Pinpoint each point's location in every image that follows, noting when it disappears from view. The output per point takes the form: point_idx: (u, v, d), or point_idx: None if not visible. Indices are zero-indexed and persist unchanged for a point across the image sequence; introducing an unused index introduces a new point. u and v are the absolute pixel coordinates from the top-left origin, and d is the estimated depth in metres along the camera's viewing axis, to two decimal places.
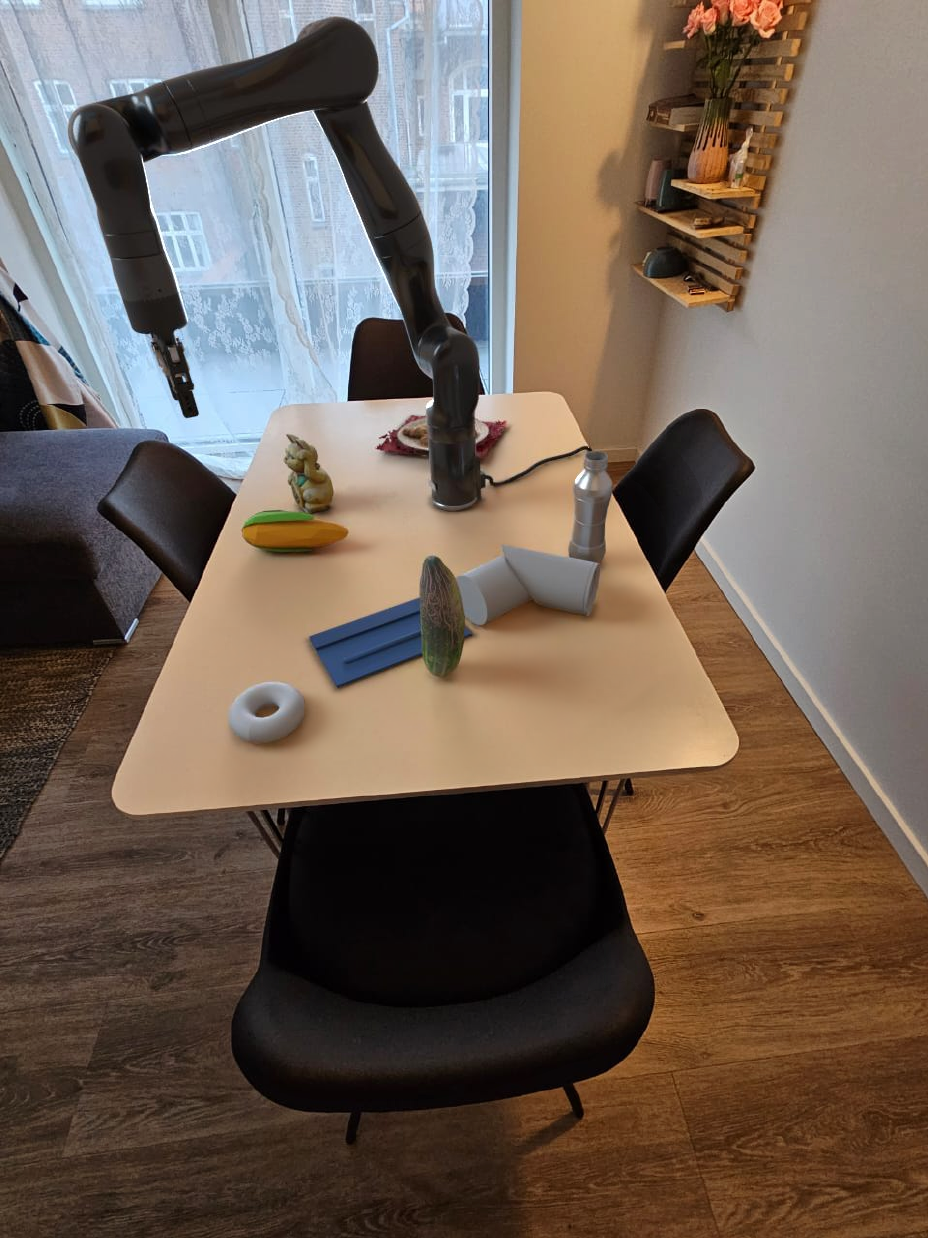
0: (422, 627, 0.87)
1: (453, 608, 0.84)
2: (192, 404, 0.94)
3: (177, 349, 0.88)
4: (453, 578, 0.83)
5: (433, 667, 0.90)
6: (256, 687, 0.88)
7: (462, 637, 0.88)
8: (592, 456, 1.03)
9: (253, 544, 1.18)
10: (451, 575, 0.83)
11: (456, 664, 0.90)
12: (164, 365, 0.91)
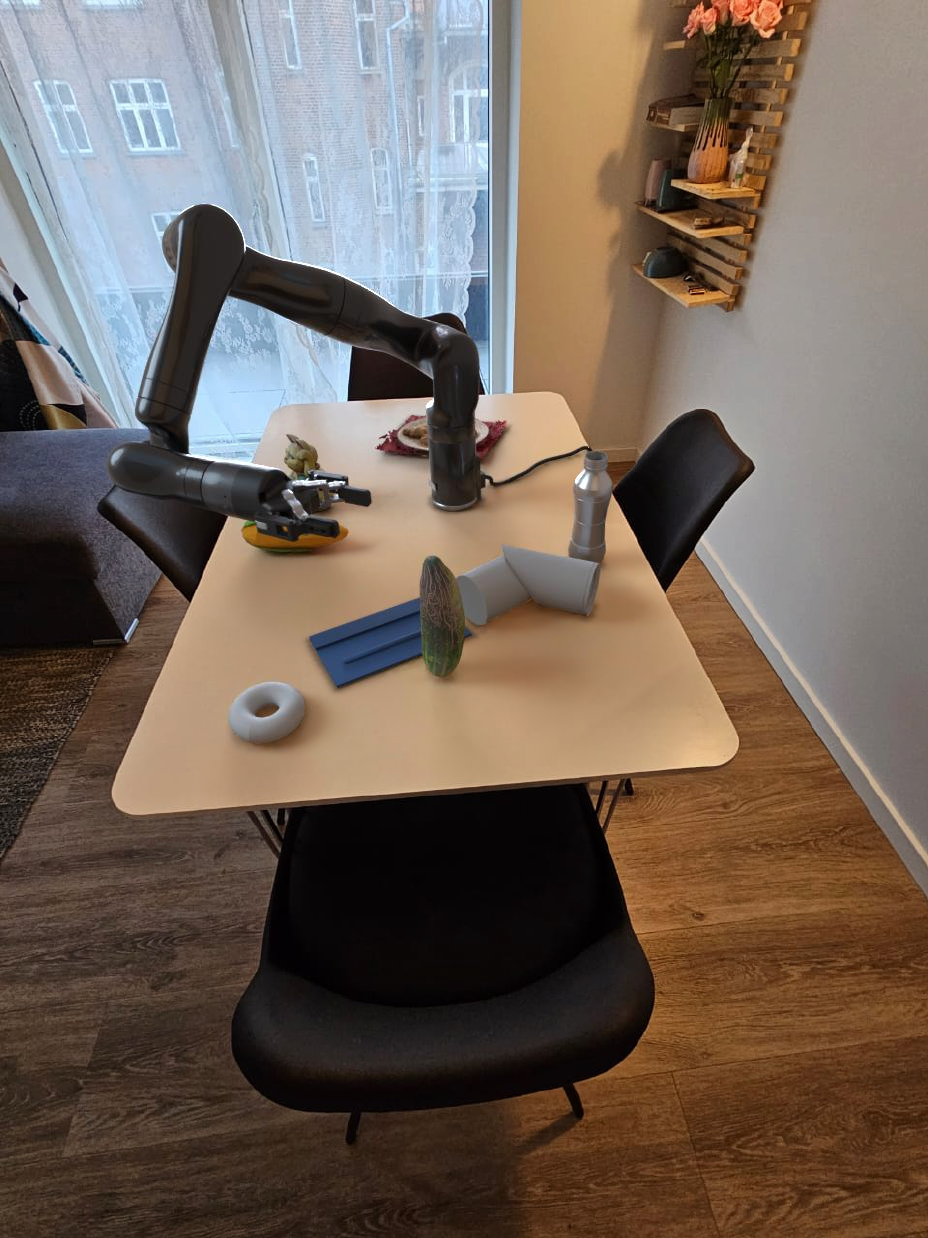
0: (422, 627, 0.87)
1: (453, 608, 0.84)
2: (318, 527, 0.79)
3: (255, 519, 0.80)
4: (453, 578, 0.83)
5: (433, 667, 0.90)
6: (256, 687, 0.88)
7: (462, 637, 0.88)
8: (592, 456, 1.03)
9: (253, 544, 1.18)
10: (451, 575, 0.83)
11: (456, 664, 0.90)
12: None
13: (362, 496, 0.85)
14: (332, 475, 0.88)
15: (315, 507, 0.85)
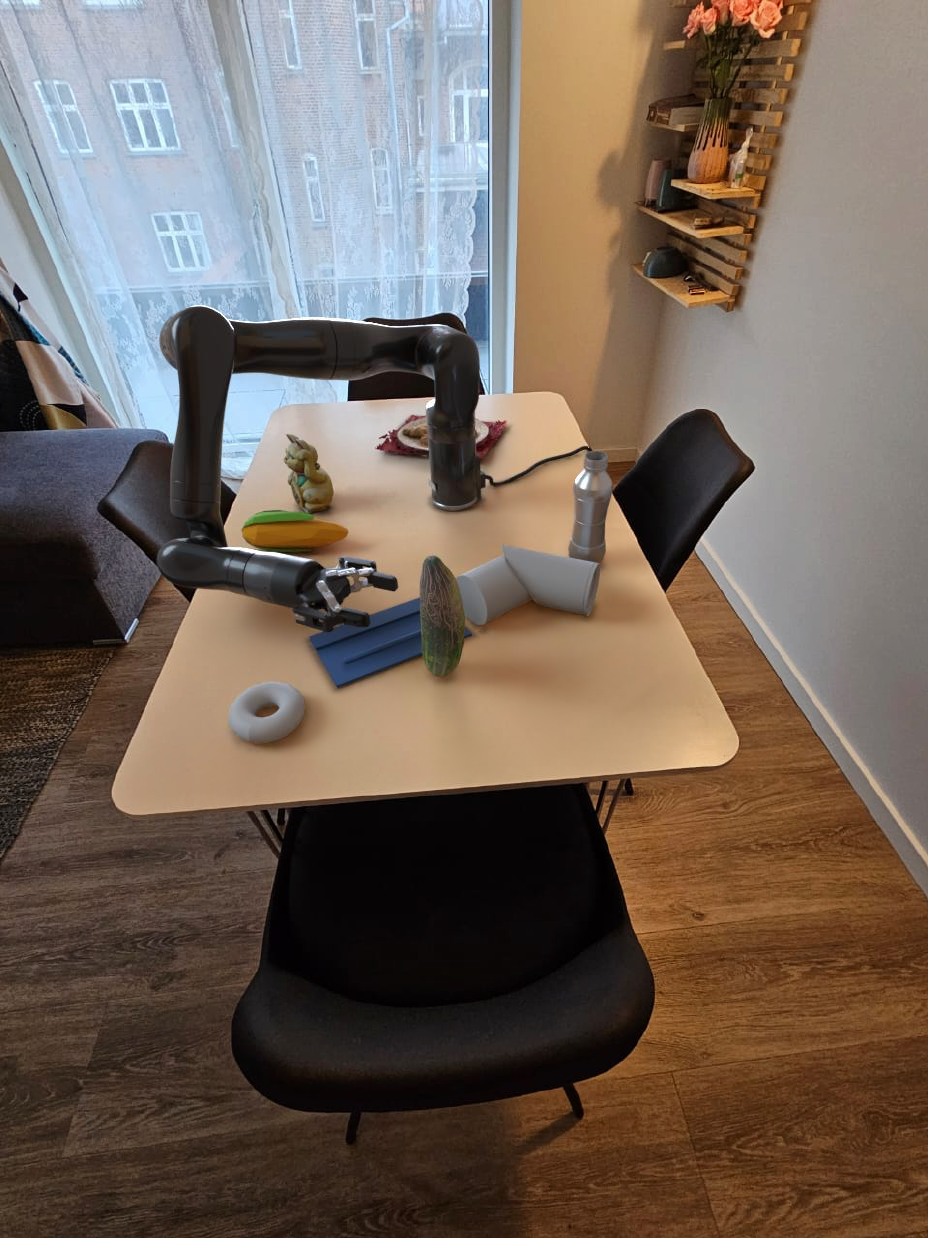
0: (422, 627, 0.87)
1: (452, 608, 0.84)
2: (351, 619, 0.86)
3: (294, 612, 0.88)
4: (453, 578, 0.83)
5: (433, 667, 0.90)
6: (256, 687, 0.88)
7: (462, 637, 0.88)
8: (592, 456, 1.03)
9: (253, 544, 1.18)
10: (451, 575, 0.83)
11: (456, 664, 0.90)
12: (326, 612, 0.91)
13: (390, 582, 0.93)
14: (361, 561, 0.96)
15: (347, 594, 0.93)
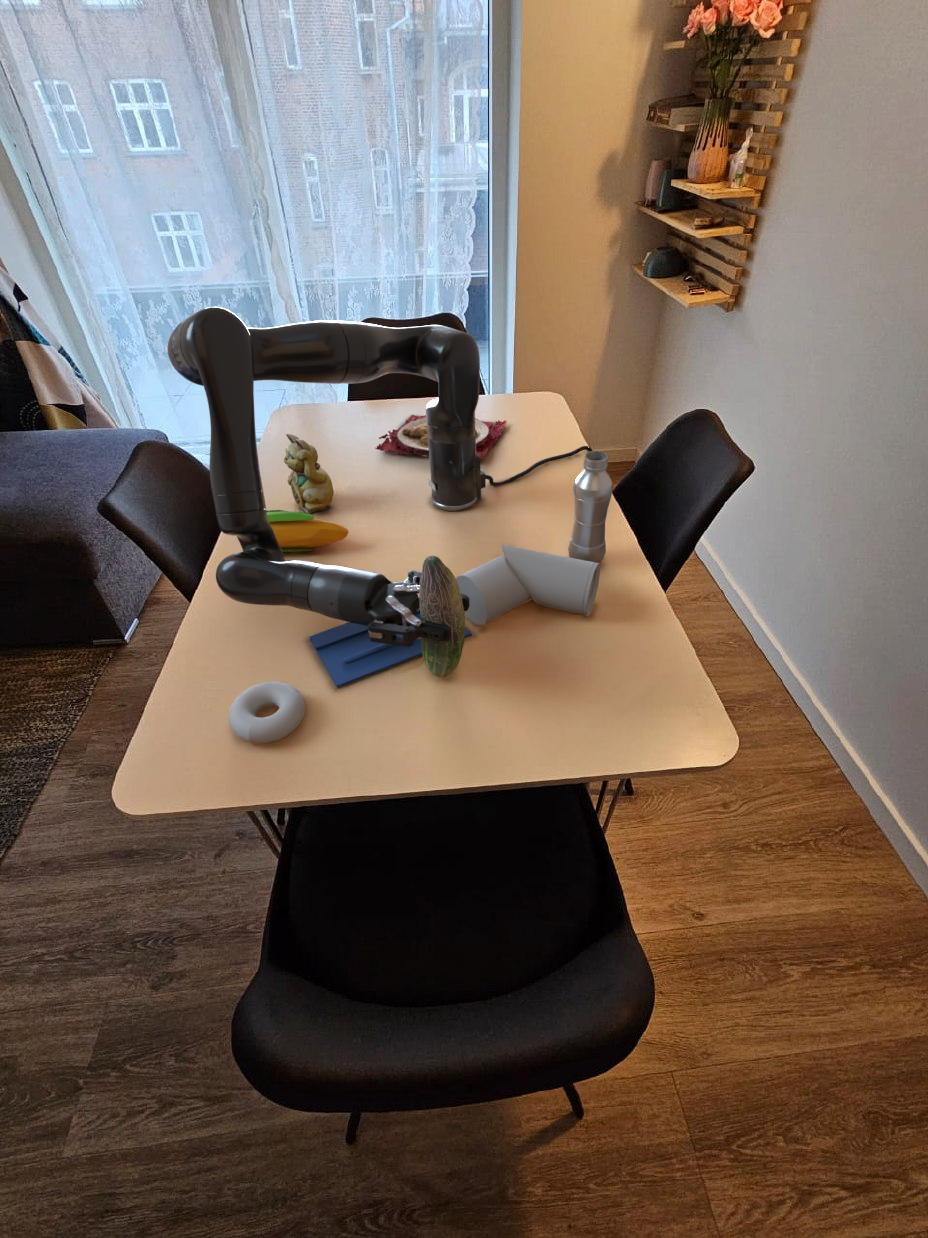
0: None
1: (453, 608, 0.83)
2: (432, 632, 0.84)
3: (369, 631, 0.84)
4: (453, 578, 0.83)
5: (433, 667, 0.90)
6: (256, 687, 0.88)
7: (462, 637, 0.88)
8: (592, 456, 1.03)
9: None
10: (451, 576, 0.83)
11: (456, 664, 0.90)
12: None
13: None
14: None
15: (416, 609, 0.89)
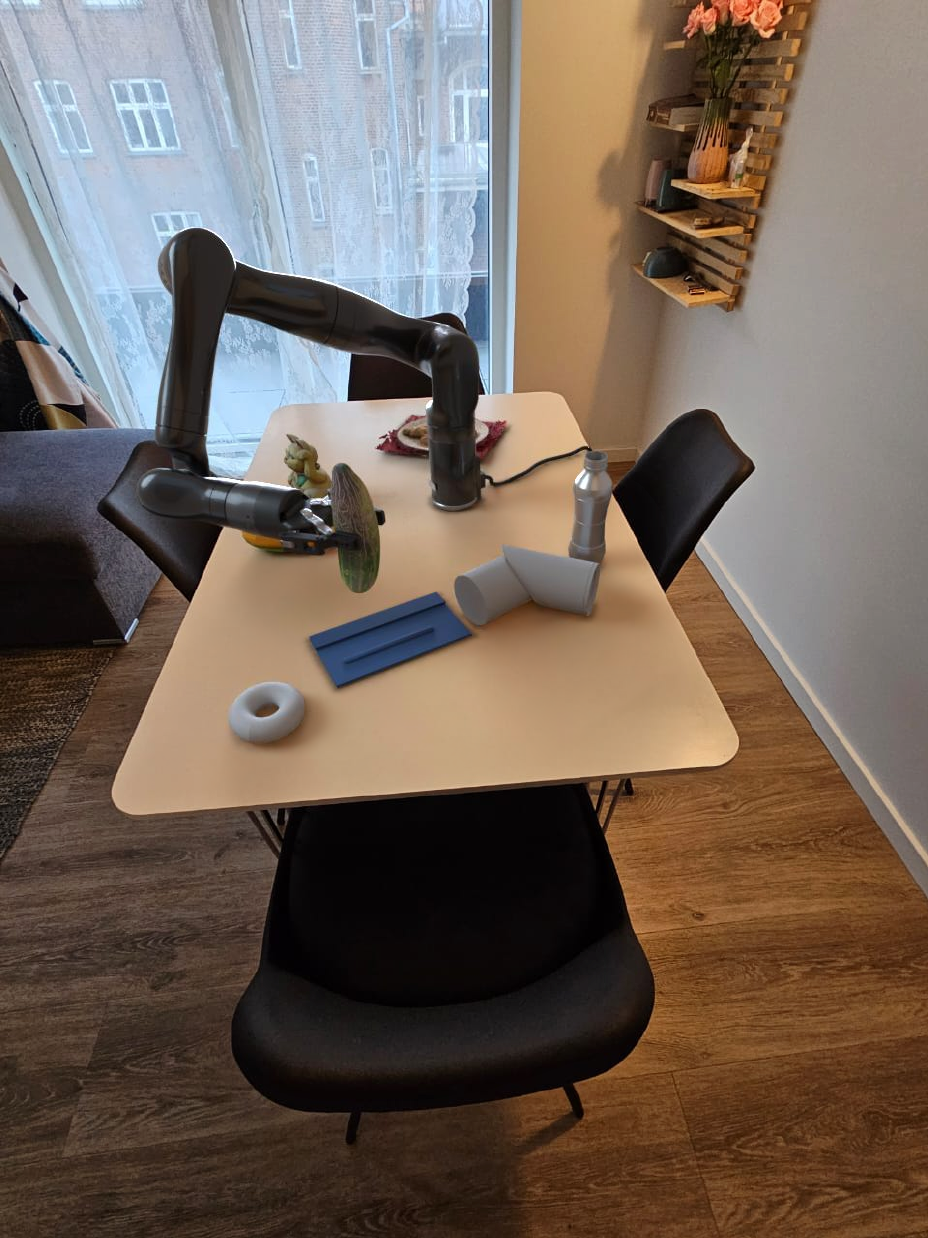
0: None
1: (363, 517, 0.84)
2: (343, 541, 0.85)
3: (281, 539, 0.85)
4: (363, 486, 0.84)
5: (349, 581, 0.91)
6: (256, 687, 0.88)
7: (376, 550, 0.88)
8: (592, 456, 1.03)
9: (253, 544, 1.18)
10: (361, 483, 0.83)
11: (373, 579, 0.91)
12: None
13: (377, 516, 0.90)
14: None
15: (332, 524, 0.90)
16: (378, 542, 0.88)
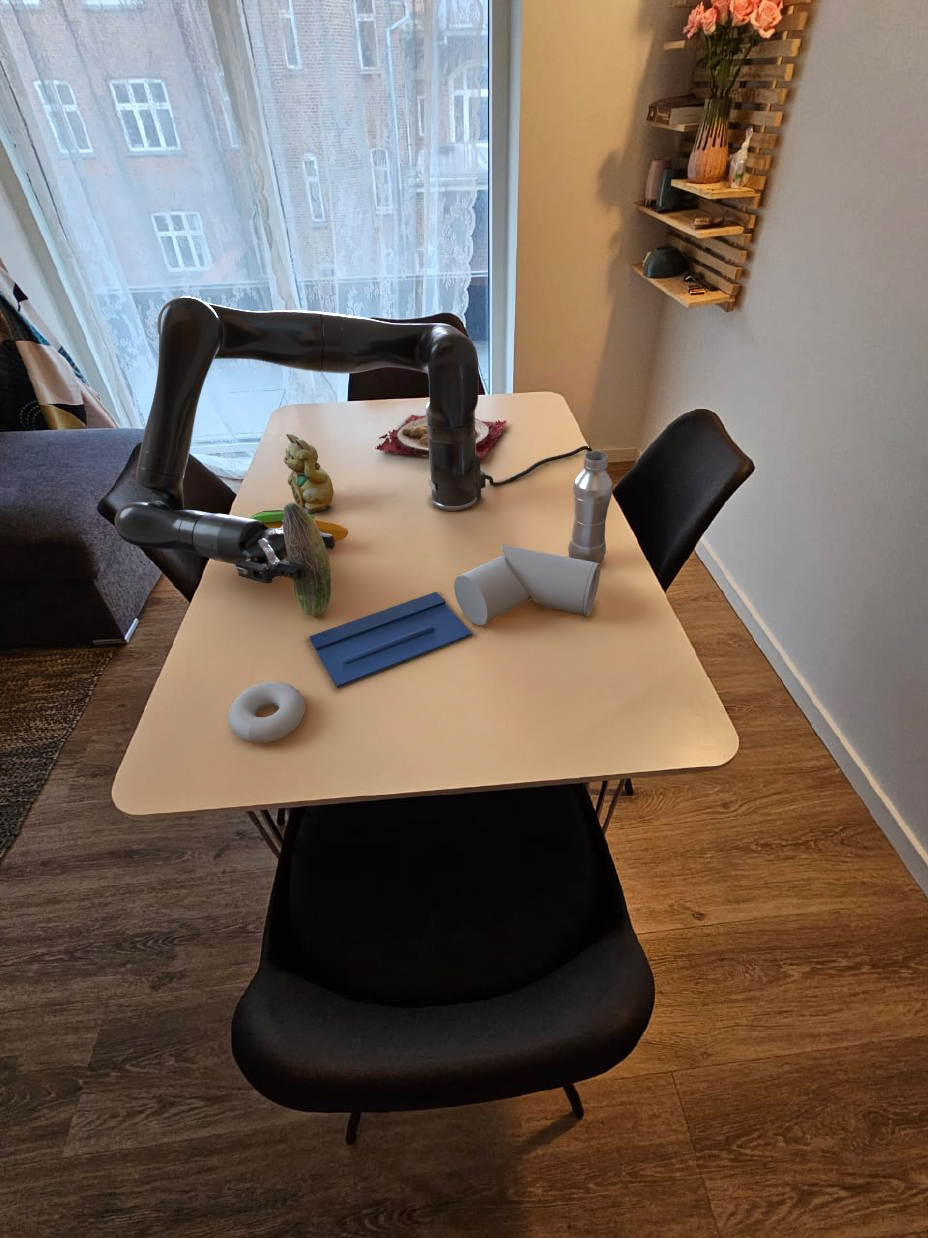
0: None
1: (312, 550, 0.95)
2: (288, 571, 0.95)
3: (236, 566, 0.96)
4: (311, 523, 0.95)
5: (303, 605, 1.02)
6: (256, 687, 0.88)
7: (326, 577, 1.00)
8: (592, 456, 1.03)
9: None
10: (310, 520, 0.95)
11: (324, 603, 1.02)
12: None
13: (327, 541, 1.01)
14: None
15: None
16: (328, 571, 0.99)
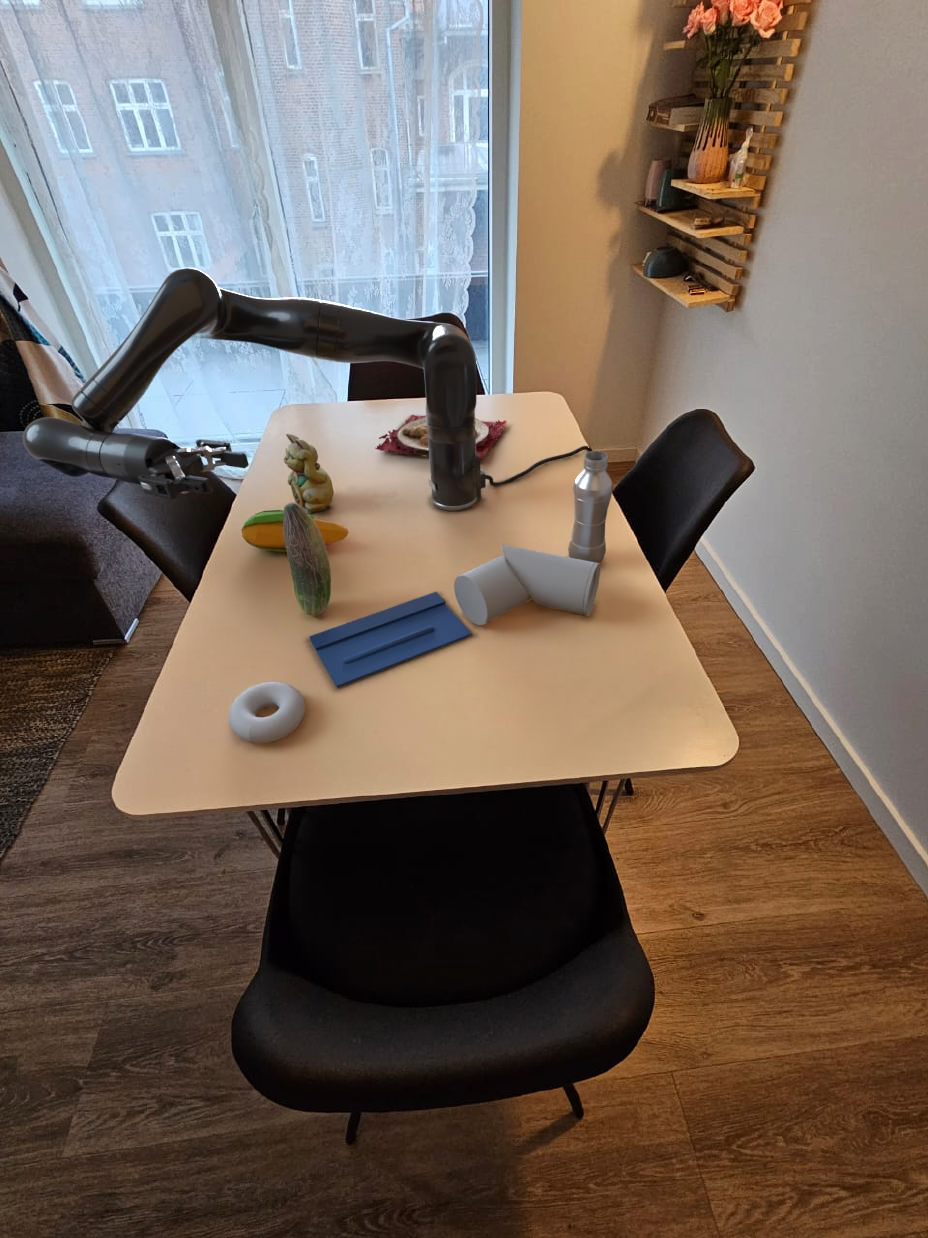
0: (290, 568, 0.99)
1: (312, 550, 0.95)
2: (192, 485, 0.91)
3: (140, 481, 0.92)
4: (311, 523, 0.95)
5: (303, 605, 1.02)
6: (256, 687, 0.88)
7: (326, 577, 1.00)
8: (592, 456, 1.03)
9: (253, 544, 1.18)
10: (310, 520, 0.95)
11: (324, 603, 1.02)
12: None
13: (239, 459, 0.97)
14: (216, 442, 1.00)
15: (198, 470, 0.97)
16: (328, 571, 0.99)
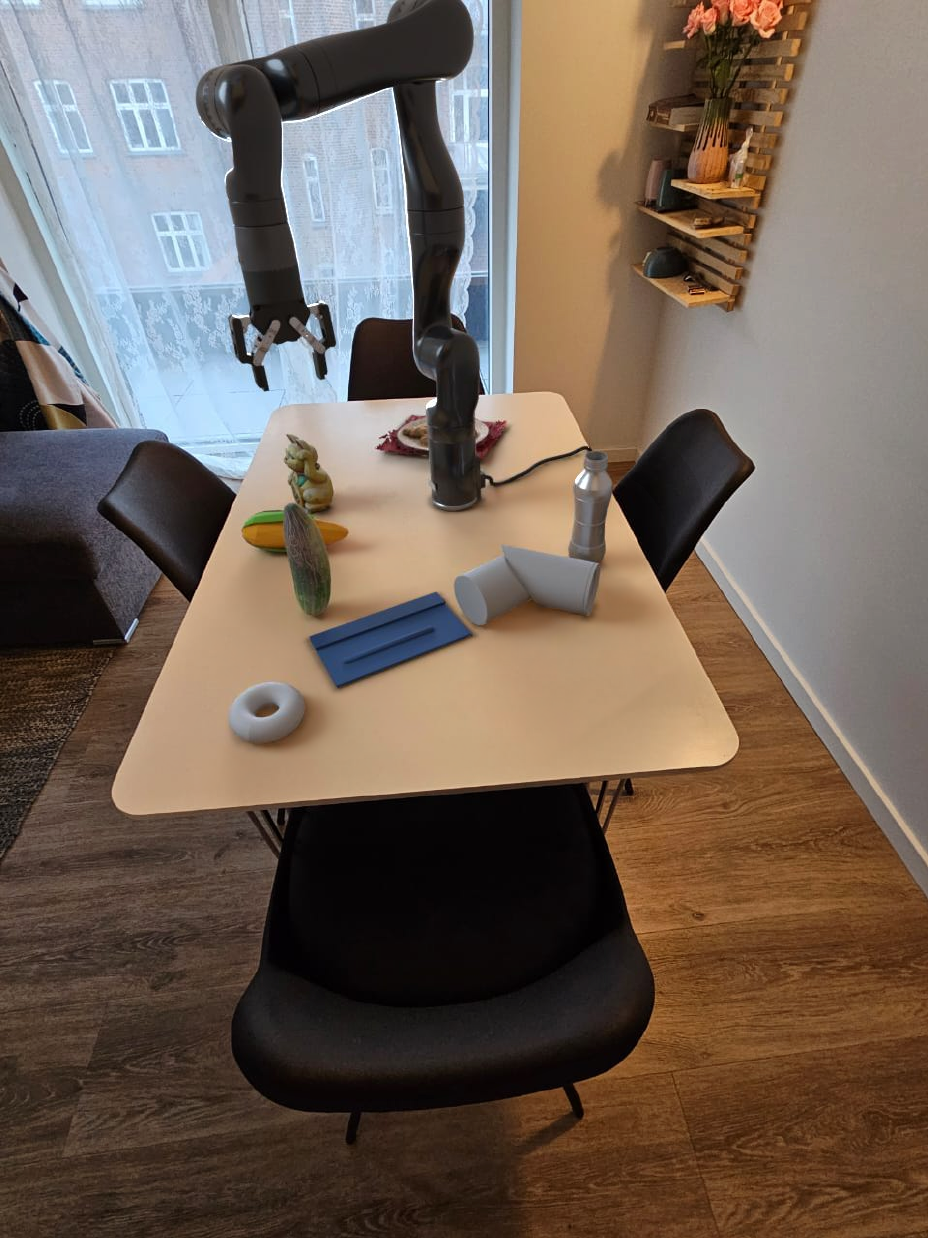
0: (290, 568, 0.99)
1: (312, 550, 0.95)
2: (256, 378, 0.93)
3: (231, 321, 0.88)
4: (311, 523, 0.95)
5: (303, 605, 1.02)
6: (256, 687, 0.88)
7: (326, 577, 1.00)
8: (592, 456, 1.03)
9: (253, 544, 1.18)
10: (310, 520, 0.95)
11: (324, 603, 1.02)
12: (258, 333, 0.92)
13: (318, 373, 0.97)
14: (329, 331, 0.94)
15: None
16: (328, 571, 0.99)
